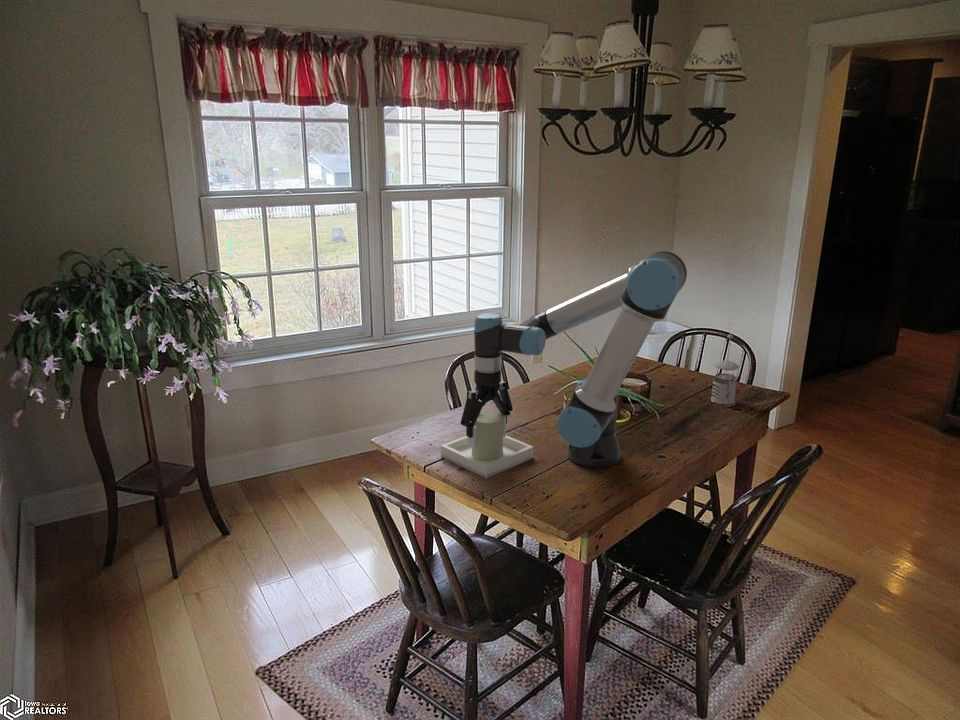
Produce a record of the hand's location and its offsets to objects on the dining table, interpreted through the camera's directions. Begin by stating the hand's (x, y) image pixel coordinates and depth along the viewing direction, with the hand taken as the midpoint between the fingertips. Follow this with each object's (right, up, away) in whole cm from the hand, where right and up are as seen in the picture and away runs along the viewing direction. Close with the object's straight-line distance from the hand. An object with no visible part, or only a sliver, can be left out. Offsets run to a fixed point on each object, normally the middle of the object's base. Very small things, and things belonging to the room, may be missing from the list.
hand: (487, 441), depth 198 cm
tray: (0, -5, +2) cm, 5 cm away
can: (0, -4, +1) cm, 4 cm away
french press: (+84, +8, +44) cm, 95 cm away
